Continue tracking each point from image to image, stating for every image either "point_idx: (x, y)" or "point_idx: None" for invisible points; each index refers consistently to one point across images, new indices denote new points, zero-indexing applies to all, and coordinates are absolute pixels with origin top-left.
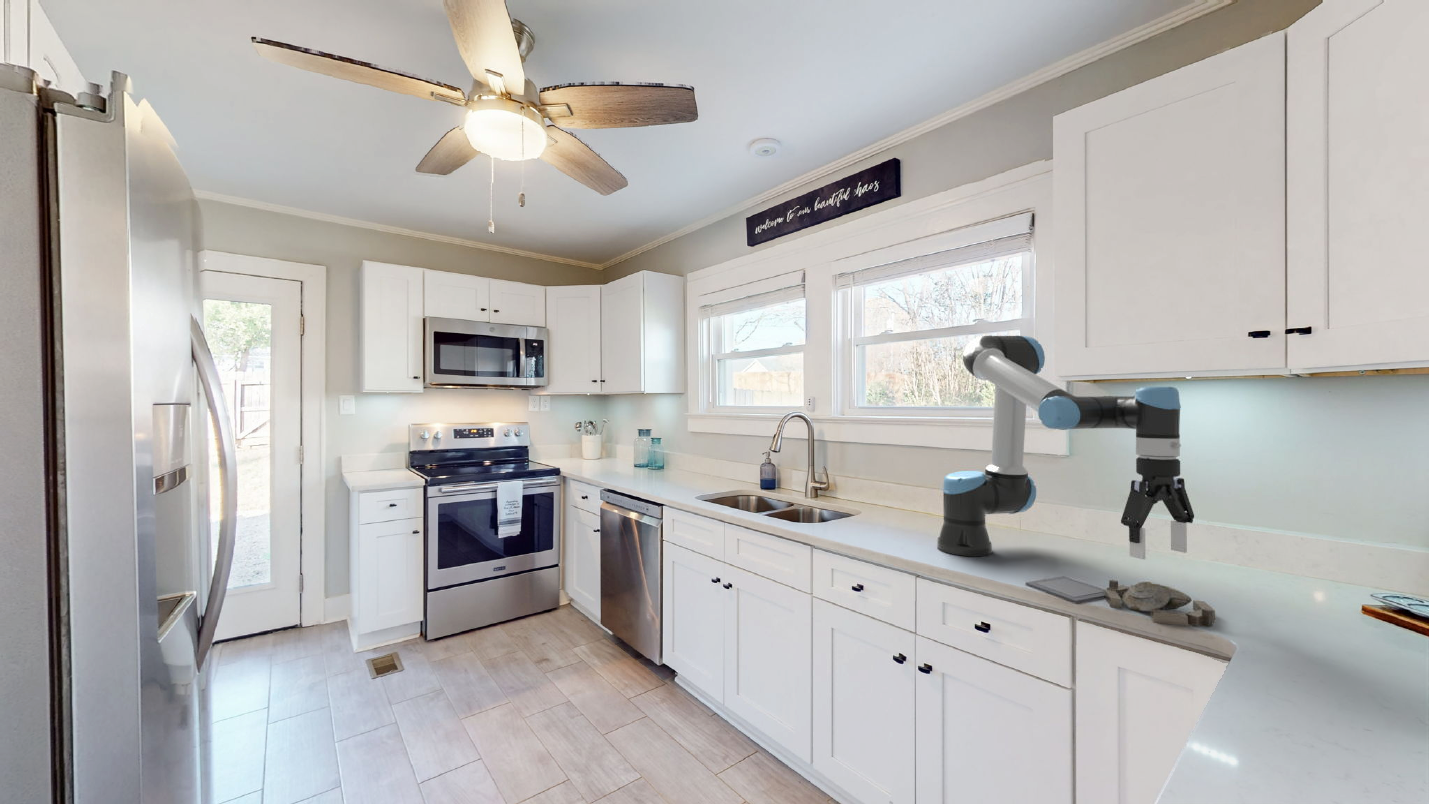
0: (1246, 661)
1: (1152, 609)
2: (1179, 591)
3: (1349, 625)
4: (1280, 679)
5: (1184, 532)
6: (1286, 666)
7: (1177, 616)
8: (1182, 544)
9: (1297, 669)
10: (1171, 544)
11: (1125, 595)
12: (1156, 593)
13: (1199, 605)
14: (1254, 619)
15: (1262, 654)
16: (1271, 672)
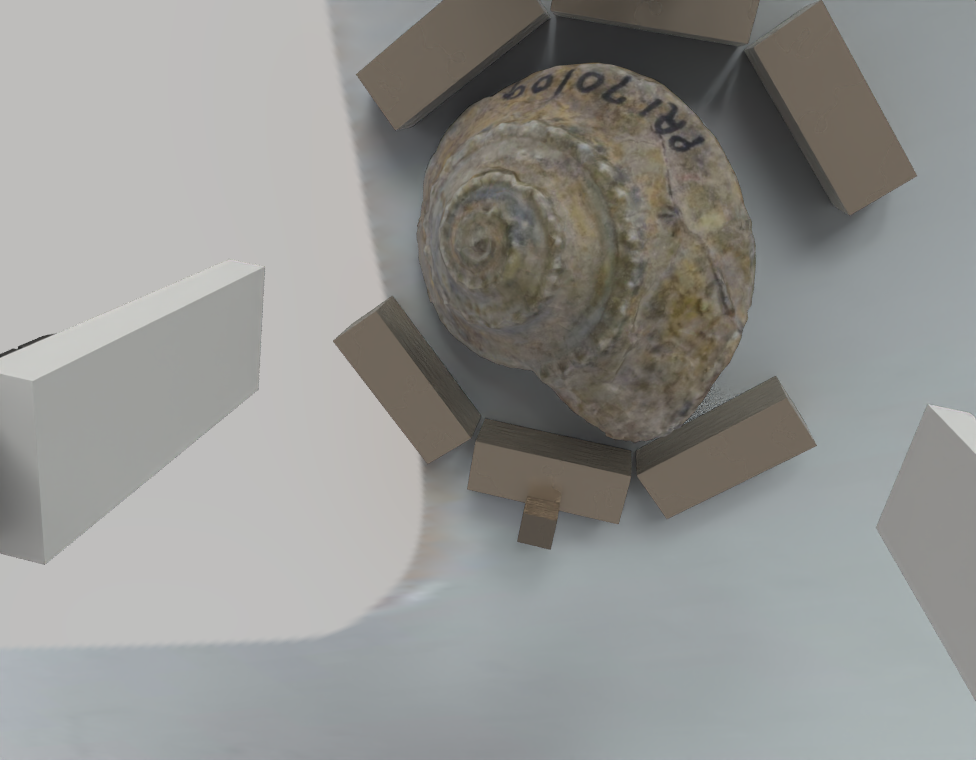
0: (260, 651)
1: (378, 319)
2: (695, 379)
3: None
4: (210, 727)
5: (972, 693)
6: (340, 729)
7: (402, 426)
8: (916, 560)
9: (345, 750)
10: (950, 438)
11: (496, 110)
12: (471, 323)
13: (696, 449)
14: (863, 596)
15: (384, 673)
16: (240, 707)
